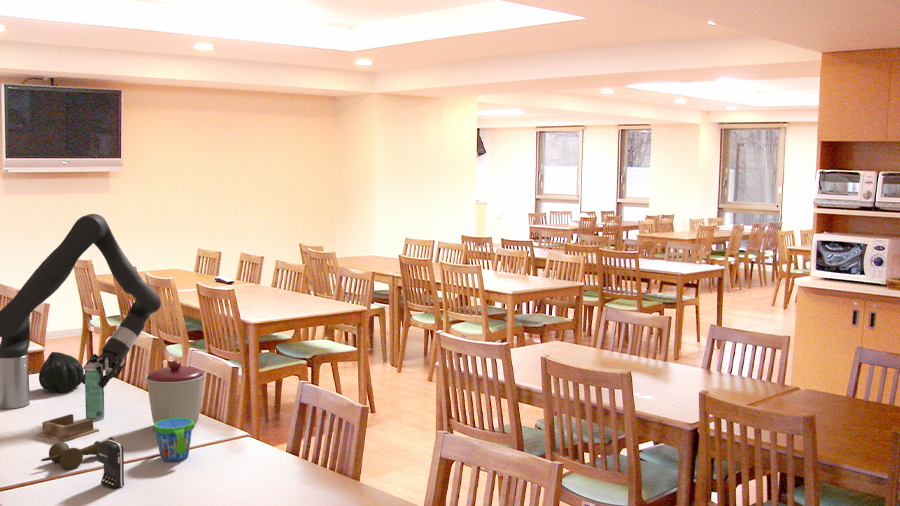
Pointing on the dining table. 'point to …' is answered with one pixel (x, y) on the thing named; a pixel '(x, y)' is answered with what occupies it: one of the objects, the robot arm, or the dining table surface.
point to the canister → (175, 392)
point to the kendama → (71, 454)
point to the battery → (111, 463)
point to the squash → (60, 373)
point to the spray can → (94, 390)
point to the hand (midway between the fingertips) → (91, 384)
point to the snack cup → (174, 438)
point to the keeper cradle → (67, 428)
